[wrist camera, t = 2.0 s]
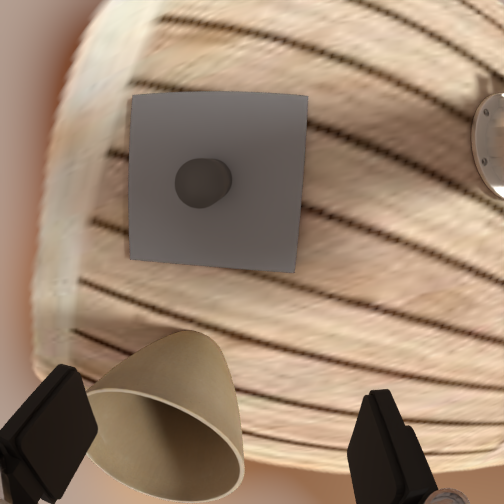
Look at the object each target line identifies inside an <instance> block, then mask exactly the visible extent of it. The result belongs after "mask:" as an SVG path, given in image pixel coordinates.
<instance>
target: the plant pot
mask: <svg viewBox="0 0 504 504" xmlns="http://www.w3.org/2000/svg"><path fill="white" fill-rule="evenodd" d="M86 394H87V397H88V400H89V403H90V406H91V408H92V411H93V414H94V417H95V419H96V422H97V425H98V433H97V435H96V437H95V439H94V441H93V442H92V444H91V446H90V448H89V449H88V451H87V453H86V455H87V456H88V457H89V458H90V459H91V460H92V462H93V463H94V464H96V466H98V467H99V468H100V469H101V470H102V471H104V472H105V473H106V474H108V475H109V476H110V477H112V478H113V479H115V480H116V481H118V482H120V483H121V484H123V485H125V486H127V487H129V488H131V489H133V490H135V491H138V492H140V493H143V494H146V495H148V496H152V497H155V498H159V499H163V500H167V501H174V502H182V503H201V502H208V501H213V500H217V499H219V498H222V497H225V496H227V495H228V494H230V493H232V492H233V491H235V490H236V489H237V487H238V486H239V485H240V484H241V482H242V480H243V477H244V453H243V440H242V429H241V420H240V414H239V408H238V403H237V397H236V393H235V388H234V385H233V381H232V377H231V374H230V371H229V368H228V365H227V363H226V360H225V358H224V355H223V353H222V351H221V349H220V347H219V346H218V345H217V344H216V342H215V341H213V340H212V339H211V338H210V337H208V336H206V335H204V334H202V333H199V332H196V331H180V332H177V333H174V334H171V335H169V336H166V337H164V338H162V339H160V340H158V341H156V342H154V343H152V344H150V345H148V346H146V347H144V348H143V349H141V350H139V351H138V352H136V353H135V354H133V355H131V356H130V357H128V358H127V359H125V360H124V361H123V362H121V363H120V364H118V365H117V366H116V367H114V368H113V369H112V370H110V371H109V372H108V373H107V374H105V375H104V376H103V377H102V378H101V379H100V380H99V381H97V382H96V383H95V384H94V385H93V386H91V387H90V388H89V389H88V390H87V391H86Z"/></svg>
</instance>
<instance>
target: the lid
mask: <svg viewBox="0 0 504 504" xmlns="http://www.w3.org/2000/svg"><path fill="white" fill-rule="evenodd" d="M307 111H308V96H303V95H291V94H278V93H260V92H229V91H202V92H170V93H153V94H140V95H133V98H132V110H131V125H130V144H129V181H128V208H129V245H130V260H141V261H152V262H163V263H174V264H186V265H198V266H210V267H222V268H234V269H247V270H260V271H273V272H286V273H295V264H296V254H297V244H298V234H299V223H300V211H301V199H302V187H303V174H304V160H305V145H306V129H307Z"/></svg>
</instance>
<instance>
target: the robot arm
mask: <svg viewBox="0 0 504 504" xmlns="http://www.w3.org/2000/svg"><path fill="white" fill-rule="evenodd" d="M471 142H472V151H473V156H474V160H475V163H476V166H477V169H478V172H479V174H480V176H481V178H482V180H483V181H484V183H485V184H486V185H487V187H488V188H489V189H490V190H491V191H492V192H493V193H494V194H495V195H497V196H499V197H500V198H503V199H504V93H497V94H493V95H491V96H489V97H487V98H485V99H484V100H483V101H482V102H481V104H480V105H479V107H478V109H477V110H476V113H475V116H474V119H473V124H472V133H471ZM97 433H98V425H97V422H96V419H95V417H94V414H93V411H92V408H91V406H90V403H89V400H88V397H87V394H86V391H85V388H84V385H83V381H82V378H81V375H80V373H79V372H77V370H76V368H75V367H71V366H67V365H63V364H59V365H58V366H57V367H56V368H55V369H54V370H53V371H52V372H51V373H50V374H49V375H48V376H47V377H46V379H45V380H44V381H43V382H42V383H41V384H40V385H39V386H38V387H37V389H36V390H35V391H34V392H33V393H32V394H31V395H30V396H29V397H28V399H27V400H26V401H25V402H24V403H23V404H22V405H21V407H20V408H19V409H18V410H17V411H16V412H15V414H14V415H13V416H12V417H11V418H10V419H9V420H8V422H7V423H6V424H5V425H4V427H3V428H2V429H1V430H0V504H38V501H39V500H40V498H41V499H42V500H44V501H46V502H48V503H51V504H55V502H56V500H57V499H61V497H62V496H63V494H64V492H65V491H66V489H67V487H68V485H69V483H70V481H71V479H72V478H73V476H74V474H75V472H76V471H77V469H78V467H79V465H80V463H81V462H82V460H83V458H84V456H85V455H86V453H87V451H88V449H89V448H90V446H91V444H92V442H93V441H94V439H95V437H96V435H97ZM347 458H348V463H349V468H350V473H351V478H352V484H353V489H354V494H355V499H356V504H470V502H469V500H468V498H467V497H466V496H465V495H464V494H463V493H462V492H460V491H458V490H456V489H451V488H444V489H440V490H438V487H437V485H436V482H435V480H434V477H433V475H432V472H431V470H430V467H429V465H428V463H427V460H426V458H425V455H424V453H423V451H422V448H421V446H420V444H419V441H418V439H417V437H416V434H415V432H414V430H413V429H412V427H411V426H409V425H408V426H405V424H404V422H403V420H402V417H401V415H400V413H399V410H398V408H397V406H396V403H395V401H394V399H393V397H392V394H391V392H390V391H389V390H388V389H382V390H371V391H370V393H369V395H365V396H364V398H363V401H362V404H361V408H360V411H359V415H358V418H357V421H356V424H355V428H354V431H353V434H352V437H351V440H350V443H349V446H348V450H347Z"/></svg>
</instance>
